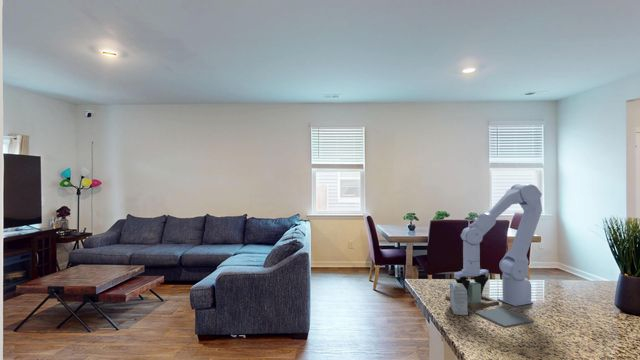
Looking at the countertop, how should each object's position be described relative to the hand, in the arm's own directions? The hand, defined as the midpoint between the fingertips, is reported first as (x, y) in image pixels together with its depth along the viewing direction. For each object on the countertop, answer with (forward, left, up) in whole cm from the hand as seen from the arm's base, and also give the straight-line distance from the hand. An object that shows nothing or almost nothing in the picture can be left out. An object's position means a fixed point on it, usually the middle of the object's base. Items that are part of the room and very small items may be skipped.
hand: (471, 296), depth 129 cm
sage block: (0, 0, -2) cm, 2 cm away
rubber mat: (+2, +16, -2) cm, 16 cm away
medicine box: (+12, +6, -2) cm, 13 cm away
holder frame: (0, 0, -2) cm, 2 cm away
